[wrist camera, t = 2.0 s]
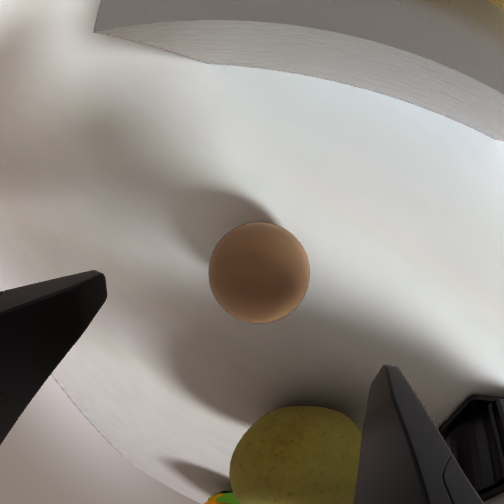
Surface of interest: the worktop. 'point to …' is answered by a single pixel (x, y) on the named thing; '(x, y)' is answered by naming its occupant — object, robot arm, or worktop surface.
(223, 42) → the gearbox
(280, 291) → the bead
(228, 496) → the corn
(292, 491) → the apple
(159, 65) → the worktop surface
